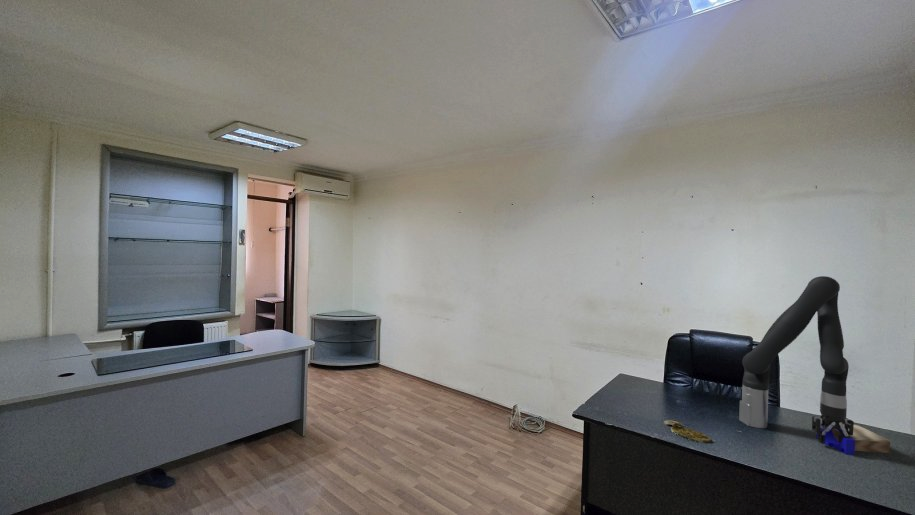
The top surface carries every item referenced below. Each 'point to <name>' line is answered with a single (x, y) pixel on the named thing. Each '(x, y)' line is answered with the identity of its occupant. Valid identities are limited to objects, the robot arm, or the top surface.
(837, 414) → the robot arm
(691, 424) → the top surface
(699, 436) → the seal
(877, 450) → the stand
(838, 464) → the top surface
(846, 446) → the cable clip
